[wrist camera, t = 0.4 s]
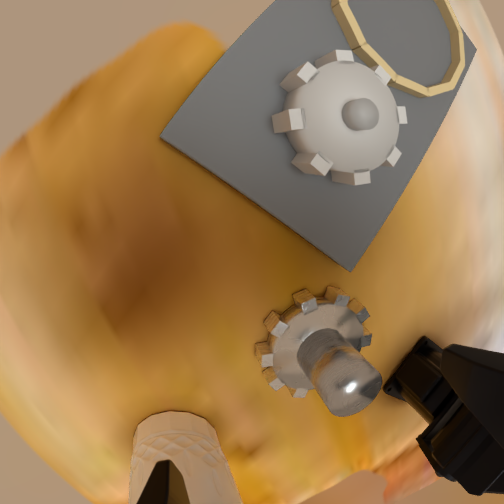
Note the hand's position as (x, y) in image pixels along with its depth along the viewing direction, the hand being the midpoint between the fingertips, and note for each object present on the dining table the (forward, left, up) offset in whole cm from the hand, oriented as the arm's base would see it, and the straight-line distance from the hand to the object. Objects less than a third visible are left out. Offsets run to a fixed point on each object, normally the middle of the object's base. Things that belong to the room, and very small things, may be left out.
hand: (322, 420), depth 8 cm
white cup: (-4, +14, -13) cm, 19 cm away
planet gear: (-8, +1, -12) cm, 15 cm away
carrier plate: (+1, -16, -12) cm, 20 cm away
